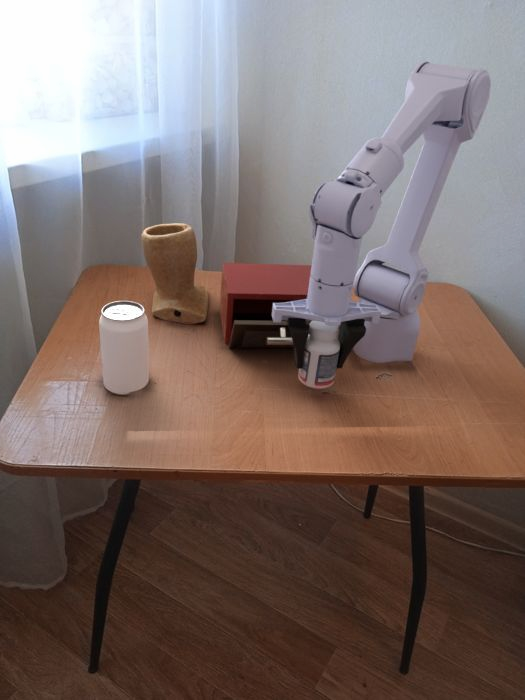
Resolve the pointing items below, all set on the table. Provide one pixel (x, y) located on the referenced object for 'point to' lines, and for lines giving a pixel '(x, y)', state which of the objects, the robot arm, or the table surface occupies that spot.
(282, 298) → the oven
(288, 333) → the oven door
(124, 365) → the can
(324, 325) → the pill bottle
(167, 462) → the table surface
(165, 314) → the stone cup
